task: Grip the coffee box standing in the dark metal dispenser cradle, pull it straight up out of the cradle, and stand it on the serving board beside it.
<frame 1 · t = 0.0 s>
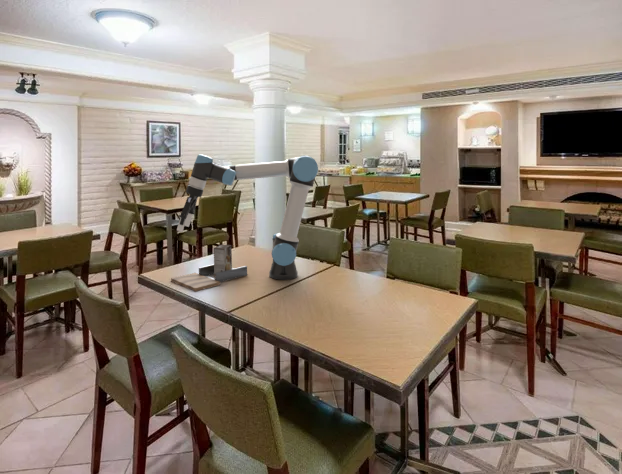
hand: (182, 228, 199), 28 cm above the table, tool tilted 20°, fingers open, 13 cm apart
coffee box: (223, 276, 219), resting in dispenser cradle
serving board: (195, 282, 207), on the table
dispenser cradle: (223, 275, 219), on the table
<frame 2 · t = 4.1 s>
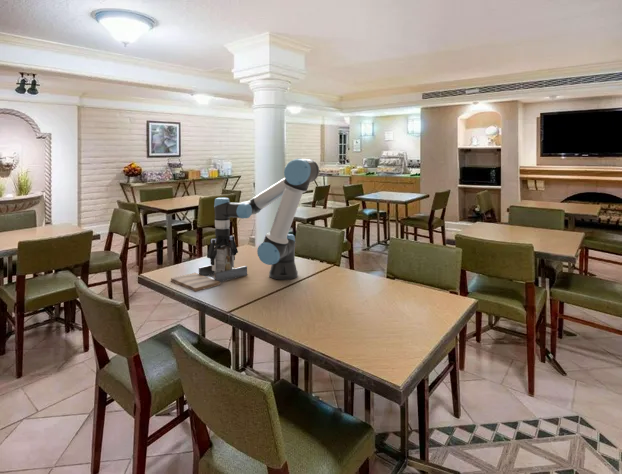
hand: (223, 268, 218), 4 cm above the table, tool pointing down, fingers closed on coffee box, 11 cm apart
coffee box: (223, 276, 219), resting in dispenser cradle, touching gripper
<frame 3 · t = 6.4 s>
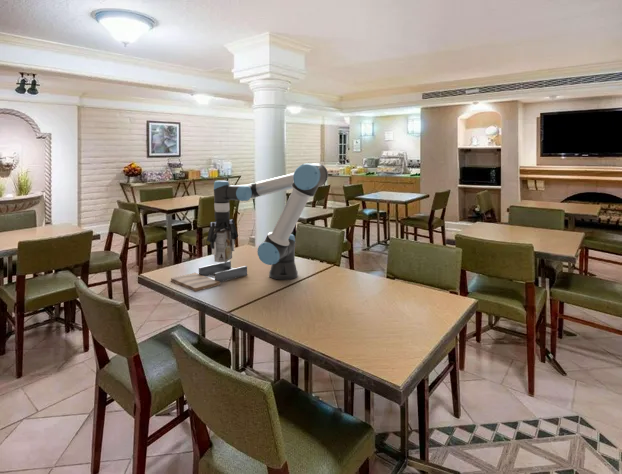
hand: (223, 252, 216), 13 cm above the table, tool pointing down, fingers closed on coffee box, 11 cm apart
coffee box: (223, 260, 217), point 9 cm above the table, touching gripper
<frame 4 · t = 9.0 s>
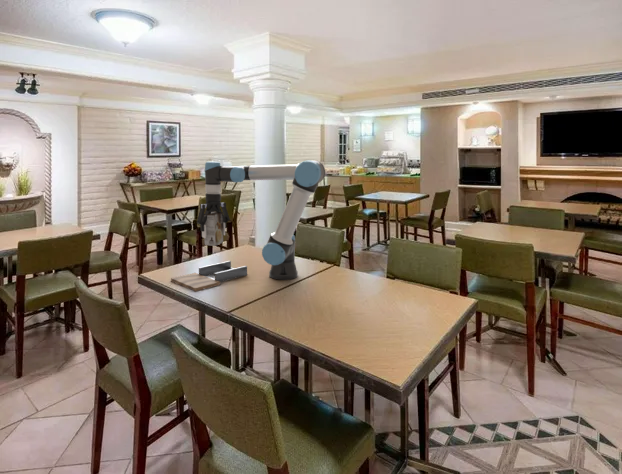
hand: (213, 236, 211), 22 cm above the table, tool pointing down, fingers closed on coffee box, 11 cm apart
coffee box: (214, 244, 212), point 18 cm above the table, touching gripper
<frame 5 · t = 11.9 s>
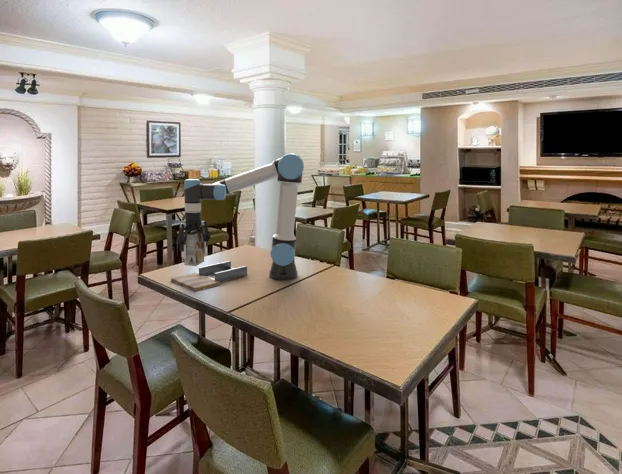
hand: (194, 255, 204), 14 cm above the table, tool pointing down, fingers closed on coffee box, 11 cm apart
coffee box: (194, 263, 205), point 10 cm above the table, touching gripper
when the fingers open (7 cm above the table, at t = 14.2 s): coffee box drops 1 cm, resting on serving board.
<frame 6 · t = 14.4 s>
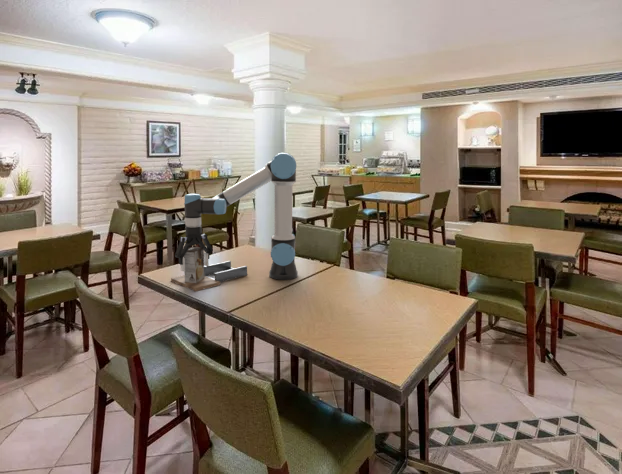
hand: (194, 268, 205), 8 cm above the table, tool pointing down, fingers open, 13 cm apart
coffee box: (194, 280, 206), point 1 cm above the table, touching serving board
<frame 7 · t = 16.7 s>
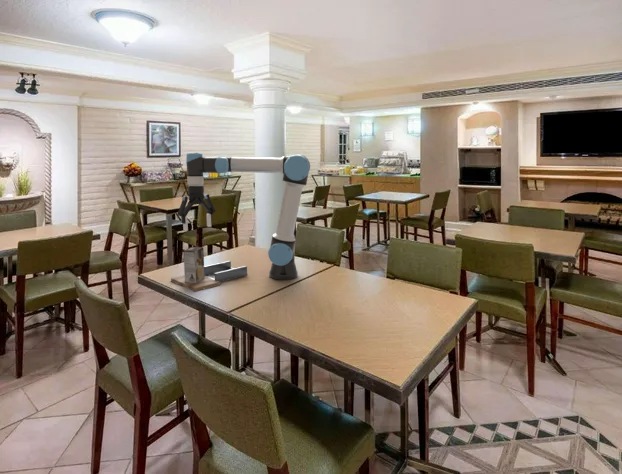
hand: (197, 228, 204), 27 cm above the table, tool pointing down, fingers open, 13 cm apart
nothing on the table moved.
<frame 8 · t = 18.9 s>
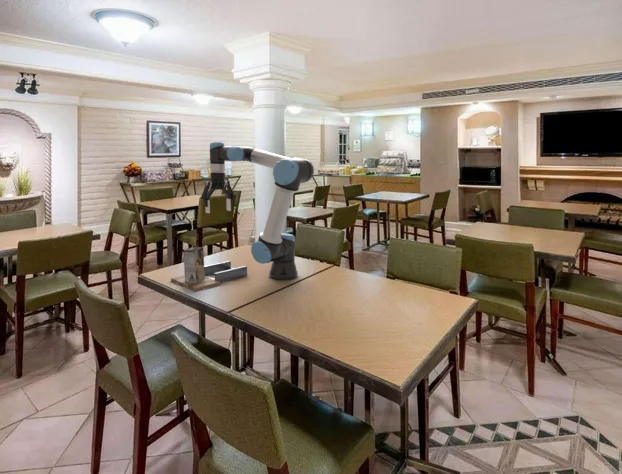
hand: (218, 211, 223), 33 cm above the table, tool pointing down, fingers open, 13 cm apart
nothing on the table moved.
at the end: coffee box inside the target area on the serving board (0.3 cm from its centre), point 1.3 cm above the serving board's base; coffee box tilted 0°; the gripper is holding nothing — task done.
